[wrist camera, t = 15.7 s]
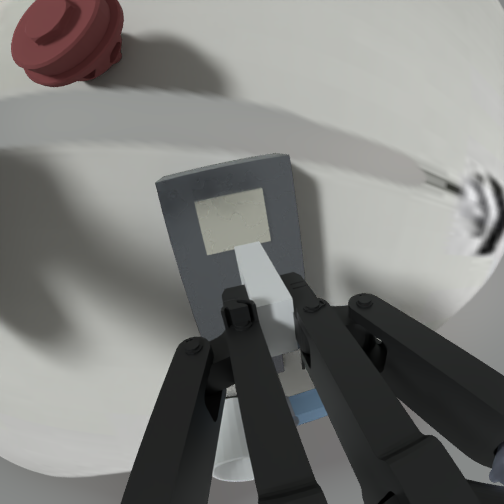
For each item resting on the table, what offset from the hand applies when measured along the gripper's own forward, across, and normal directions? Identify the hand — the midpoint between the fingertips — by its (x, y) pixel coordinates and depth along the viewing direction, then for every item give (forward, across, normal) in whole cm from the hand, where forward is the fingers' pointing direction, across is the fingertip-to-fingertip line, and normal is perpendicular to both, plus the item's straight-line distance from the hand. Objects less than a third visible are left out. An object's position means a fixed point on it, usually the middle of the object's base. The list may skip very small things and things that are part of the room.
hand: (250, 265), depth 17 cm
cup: (+15, -6, -32) cm, 36 cm away
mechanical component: (+15, -11, +21) cm, 28 cm away
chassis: (+14, 0, -6) cm, 16 cm away
